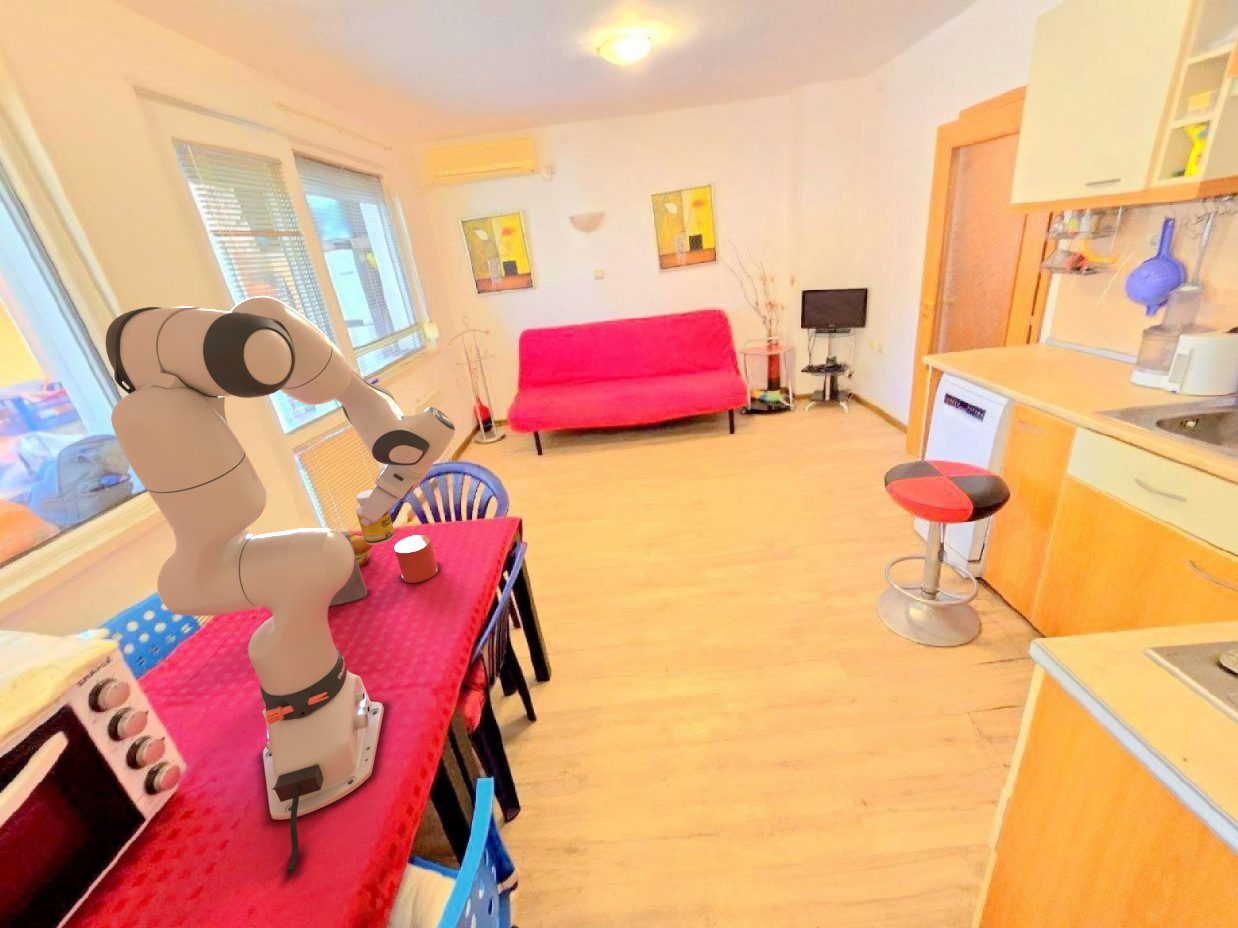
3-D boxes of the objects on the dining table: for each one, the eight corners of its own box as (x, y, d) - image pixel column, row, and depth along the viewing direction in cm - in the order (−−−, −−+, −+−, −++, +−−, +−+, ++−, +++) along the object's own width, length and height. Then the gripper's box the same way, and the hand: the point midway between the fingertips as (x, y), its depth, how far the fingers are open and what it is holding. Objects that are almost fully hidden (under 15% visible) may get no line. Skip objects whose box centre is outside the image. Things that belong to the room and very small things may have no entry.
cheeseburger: (330, 560, 145) (329, 528, 142) (371, 557, 150) (371, 525, 147) (329, 577, 136) (329, 542, 134) (373, 572, 141) (374, 539, 139)
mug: (440, 575, 133) (433, 545, 130) (403, 586, 129) (395, 556, 126) (434, 555, 143) (427, 527, 140) (400, 566, 139) (392, 537, 136)
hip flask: (368, 590, 129) (347, 521, 122) (365, 599, 125) (342, 529, 118) (301, 603, 126) (275, 533, 119) (295, 612, 123) (268, 541, 115)
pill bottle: (384, 546, 114) (370, 500, 110) (359, 545, 116) (345, 500, 111) (401, 532, 120) (388, 487, 116) (377, 531, 122) (364, 487, 117)
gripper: (404, 446, 121) (374, 488, 124) (375, 480, 102) (339, 528, 105) (427, 461, 123) (397, 502, 126) (403, 497, 104) (367, 544, 107)
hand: (370, 514), depth 115 cm, fingers closed on pill bottle, 6 cm apart
